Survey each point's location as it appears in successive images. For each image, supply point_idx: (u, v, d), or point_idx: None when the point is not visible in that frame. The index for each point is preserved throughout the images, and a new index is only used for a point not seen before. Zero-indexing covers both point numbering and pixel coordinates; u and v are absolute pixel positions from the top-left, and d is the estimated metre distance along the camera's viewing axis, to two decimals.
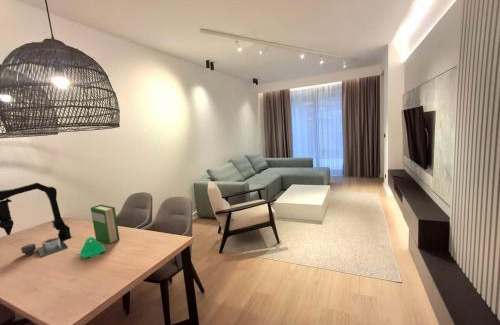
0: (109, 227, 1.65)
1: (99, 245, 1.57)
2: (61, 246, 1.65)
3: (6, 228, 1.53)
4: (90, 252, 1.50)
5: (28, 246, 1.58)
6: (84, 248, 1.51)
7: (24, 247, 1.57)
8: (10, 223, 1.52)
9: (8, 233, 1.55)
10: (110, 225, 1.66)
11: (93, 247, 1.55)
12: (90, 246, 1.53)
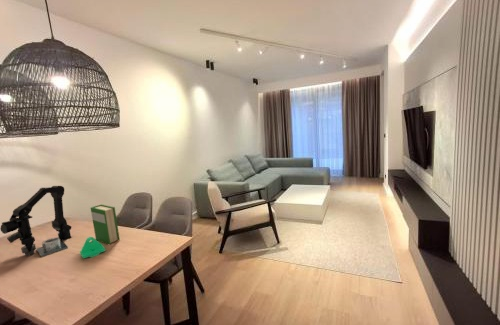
0: (109, 227, 1.65)
1: (99, 245, 1.57)
2: (61, 246, 1.65)
3: (27, 245, 1.54)
4: (90, 252, 1.50)
5: None
6: (84, 248, 1.51)
7: (24, 247, 1.57)
8: (32, 240, 1.52)
9: (29, 249, 1.56)
10: (110, 225, 1.66)
11: (93, 247, 1.55)
12: (90, 246, 1.54)
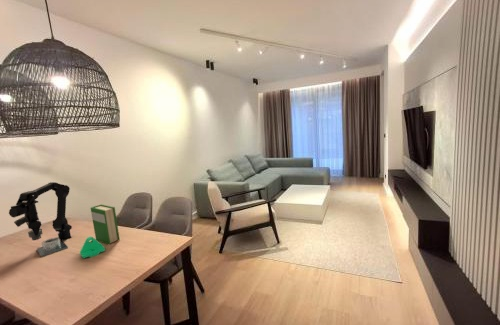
0: (109, 227, 1.65)
1: (99, 245, 1.57)
2: (61, 246, 1.65)
3: (34, 229, 1.55)
4: (90, 252, 1.50)
5: None
6: (84, 248, 1.52)
7: (31, 231, 1.58)
8: (38, 224, 1.53)
9: (36, 234, 1.57)
10: (110, 225, 1.66)
11: (93, 247, 1.55)
12: (90, 246, 1.54)
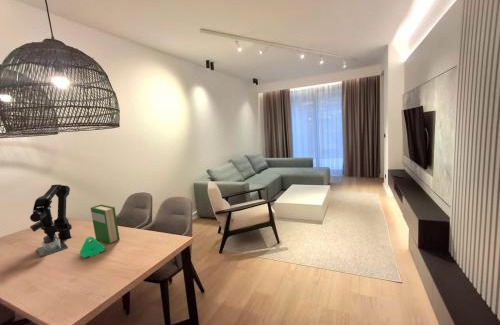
0: (109, 227, 1.65)
1: (98, 244, 1.58)
2: (61, 246, 1.65)
3: (50, 234, 1.59)
4: (90, 251, 1.51)
5: None
6: (84, 248, 1.52)
7: (46, 237, 1.62)
8: (54, 229, 1.57)
9: (51, 239, 1.60)
10: (110, 225, 1.66)
11: (92, 246, 1.55)
12: (89, 245, 1.54)
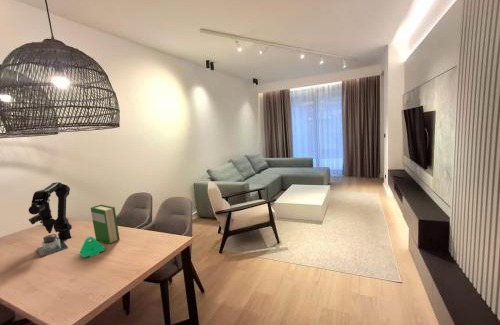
0: (109, 227, 1.65)
1: (98, 244, 1.58)
2: (61, 246, 1.65)
3: (48, 226, 1.59)
4: (90, 251, 1.51)
5: (50, 236, 1.63)
6: (83, 247, 1.52)
7: (46, 237, 1.62)
8: (52, 222, 1.57)
9: (49, 231, 1.60)
10: (110, 225, 1.66)
11: (92, 246, 1.55)
12: (89, 245, 1.54)
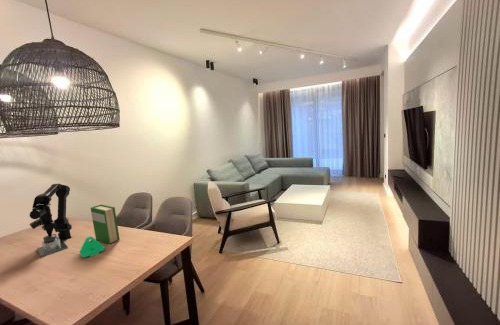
0: (109, 227, 1.65)
1: (98, 244, 1.58)
2: (61, 246, 1.65)
3: (48, 230, 1.61)
4: (90, 251, 1.51)
5: (50, 236, 1.63)
6: (83, 247, 1.52)
7: (46, 237, 1.62)
8: (53, 226, 1.57)
9: (49, 234, 1.63)
10: (110, 225, 1.66)
11: (92, 246, 1.56)
12: (89, 245, 1.54)
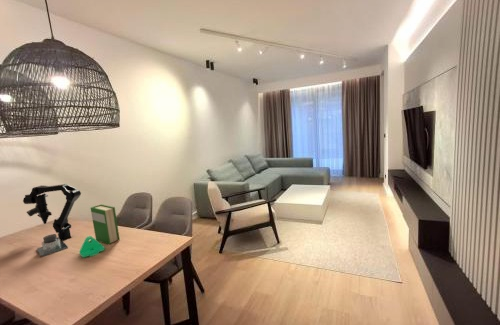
0: (109, 227, 1.65)
1: (98, 244, 1.58)
2: (61, 246, 1.65)
3: (43, 217, 1.78)
4: (89, 251, 1.51)
5: (50, 236, 1.63)
6: (83, 247, 1.52)
7: (46, 237, 1.62)
8: (49, 214, 1.74)
9: (44, 222, 1.79)
10: (110, 225, 1.66)
11: (92, 246, 1.56)
12: (89, 245, 1.55)
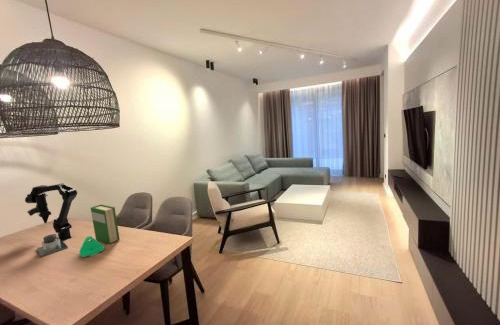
0: (109, 227, 1.65)
1: (98, 244, 1.58)
2: (61, 246, 1.65)
3: (44, 217, 1.80)
4: (89, 251, 1.52)
5: (50, 236, 1.63)
6: (83, 247, 1.53)
7: (46, 237, 1.62)
8: (48, 214, 1.75)
9: (45, 221, 1.81)
10: (110, 225, 1.66)
11: (92, 246, 1.56)
12: (89, 245, 1.55)
